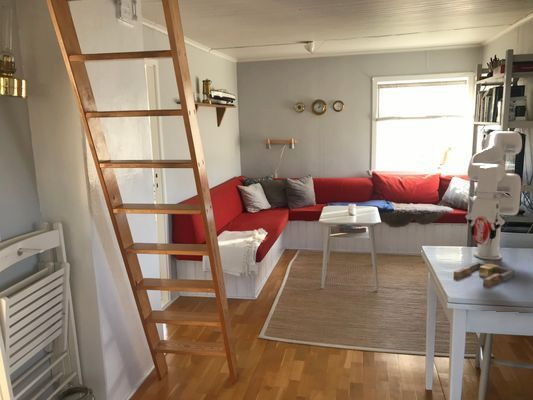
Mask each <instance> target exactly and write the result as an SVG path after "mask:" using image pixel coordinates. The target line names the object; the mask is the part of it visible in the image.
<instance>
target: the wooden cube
mask: <svg viewBox="0 0 533 400" xmlns="http://www.w3.org/2000/svg"><path fill="white" fill-rule="evenodd" d="M486 264H487V265H486V266H490V267H493V268H494V269H493V275H494V274H496V273H498V274H499V267H500V265H498V264H494V263H486Z"/></svg>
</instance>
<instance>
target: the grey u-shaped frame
mask: <svg viewBox="0 0 533 400" xmlns="http://www.w3.org/2000/svg"><path fill="white" fill-rule="evenodd" d="M487 264H488V263H484V262H480V261H476V262H472V263H470V264H468V265H465V266H464V267H467V266H469V267H471V272H473V271H476V270H478V269H479V268H480V266H484V265H487ZM515 273H516V270H514V269H510V268H507V267H501V266H499V274H500V281H499V282H505V281H507V280H510V279H511V278H513V277H515Z"/></svg>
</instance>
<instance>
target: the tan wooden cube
mask: <svg viewBox="0 0 533 400" xmlns="http://www.w3.org/2000/svg"><path fill="white" fill-rule="evenodd" d="M478 269H479V270H478V276H481V277H482V278H483V277H484V278H487V277H489V276H492V275H493V269H494V268H493V267H490V266H486V265H484V266H480V268H478Z"/></svg>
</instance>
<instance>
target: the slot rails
mask: <svg viewBox="0 0 533 400" xmlns="http://www.w3.org/2000/svg"><path fill="white" fill-rule="evenodd" d="M466 266H467V267H465V266H464V267H462V268H459V269H457V270H454V271H453V279H455V280H459V279H461V278H464V277H465V276H467V275H471V272H472V271H471V267H469V266H468V265H466ZM500 275H501V274H498V273H496V274H494V275H492V276H489V277H484V278H483V279H482V280H483V281H482V287H485V288H489V287H490V286H492V285H494V284H497V283H499V282H501V281H500Z"/></svg>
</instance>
